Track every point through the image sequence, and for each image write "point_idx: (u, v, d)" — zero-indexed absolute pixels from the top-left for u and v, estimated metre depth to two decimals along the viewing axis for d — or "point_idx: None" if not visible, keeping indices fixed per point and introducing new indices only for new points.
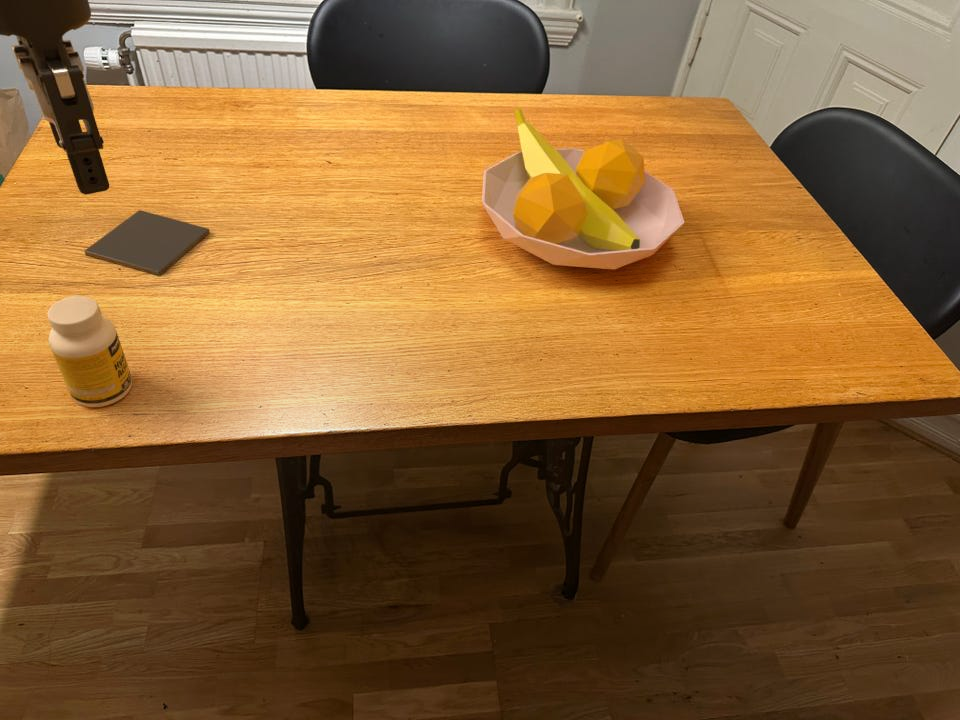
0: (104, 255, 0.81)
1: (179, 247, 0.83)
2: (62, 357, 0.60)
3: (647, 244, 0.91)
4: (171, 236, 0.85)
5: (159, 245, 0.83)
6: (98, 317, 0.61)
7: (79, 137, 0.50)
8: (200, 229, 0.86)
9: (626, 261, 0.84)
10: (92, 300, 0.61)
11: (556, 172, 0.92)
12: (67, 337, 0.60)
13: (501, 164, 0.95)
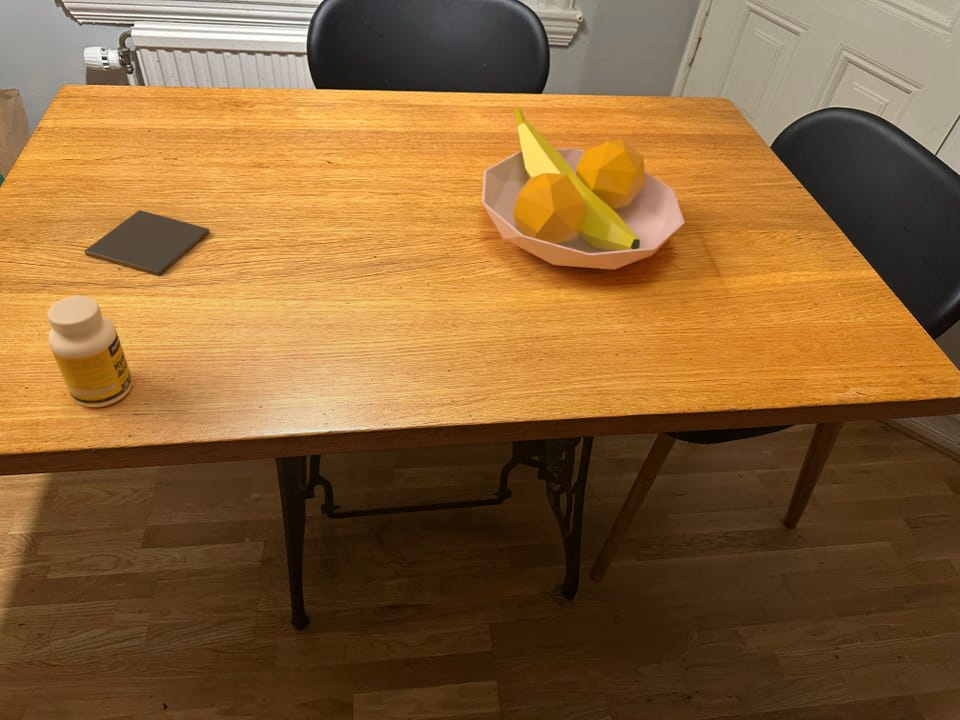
0: (104, 255, 0.81)
1: (179, 247, 0.83)
2: (62, 357, 0.60)
3: (647, 244, 0.91)
4: (171, 236, 0.85)
5: (159, 245, 0.83)
6: (98, 317, 0.61)
7: None
8: (200, 229, 0.86)
9: (626, 261, 0.84)
10: (92, 300, 0.61)
11: (556, 172, 0.92)
12: (67, 337, 0.60)
13: (501, 164, 0.95)
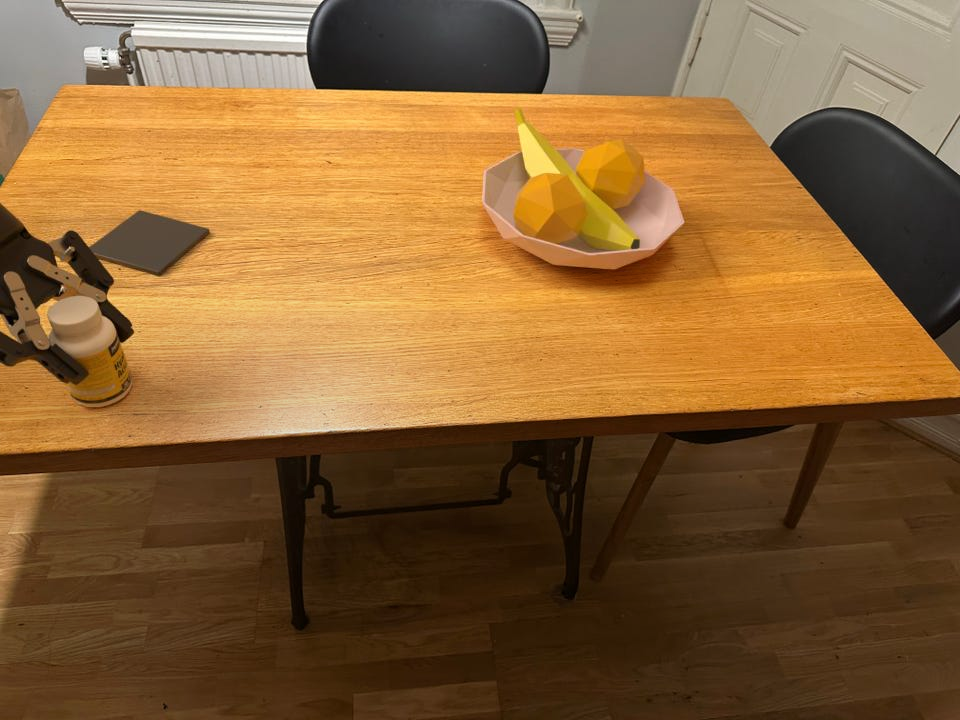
0: (104, 255, 0.81)
1: (179, 247, 0.83)
2: None
3: (647, 244, 0.91)
4: (171, 236, 0.85)
5: (159, 245, 0.83)
6: (98, 317, 0.61)
7: None
8: (200, 229, 0.86)
9: (626, 261, 0.84)
10: (92, 300, 0.61)
11: (556, 172, 0.92)
12: (67, 337, 0.60)
13: (501, 164, 0.95)
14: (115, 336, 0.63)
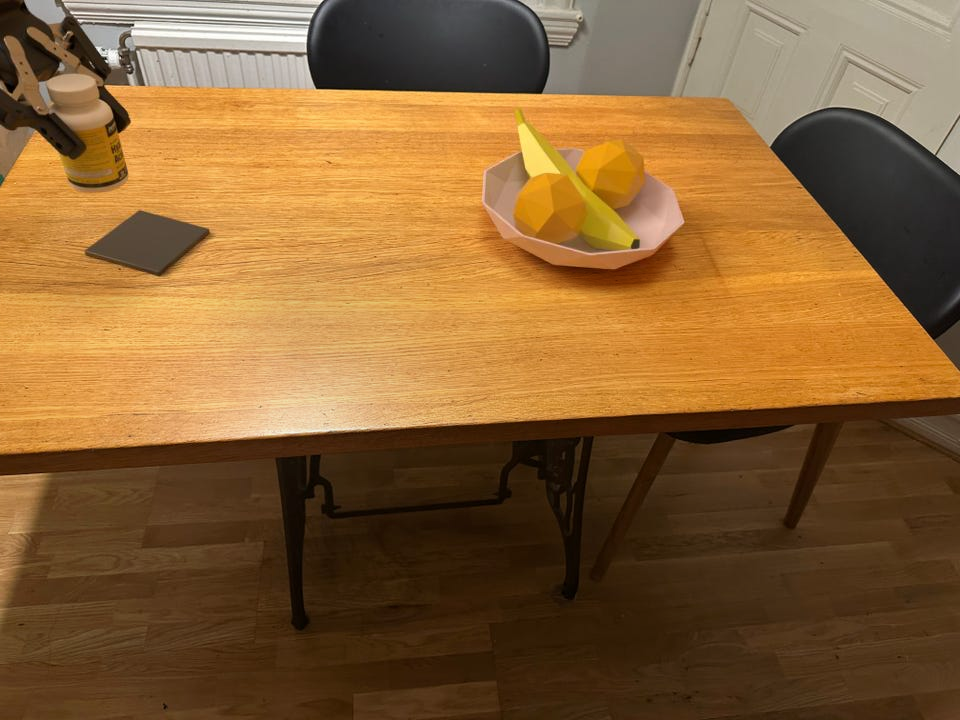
0: (104, 255, 0.81)
1: (179, 247, 0.83)
2: None
3: (647, 244, 0.91)
4: (171, 236, 0.85)
5: (159, 245, 0.83)
6: (95, 92, 0.62)
7: None
8: (200, 229, 0.86)
9: (626, 261, 0.84)
10: (89, 77, 0.63)
11: (556, 172, 0.92)
12: (65, 109, 0.62)
13: (501, 164, 0.95)
14: (112, 117, 0.65)
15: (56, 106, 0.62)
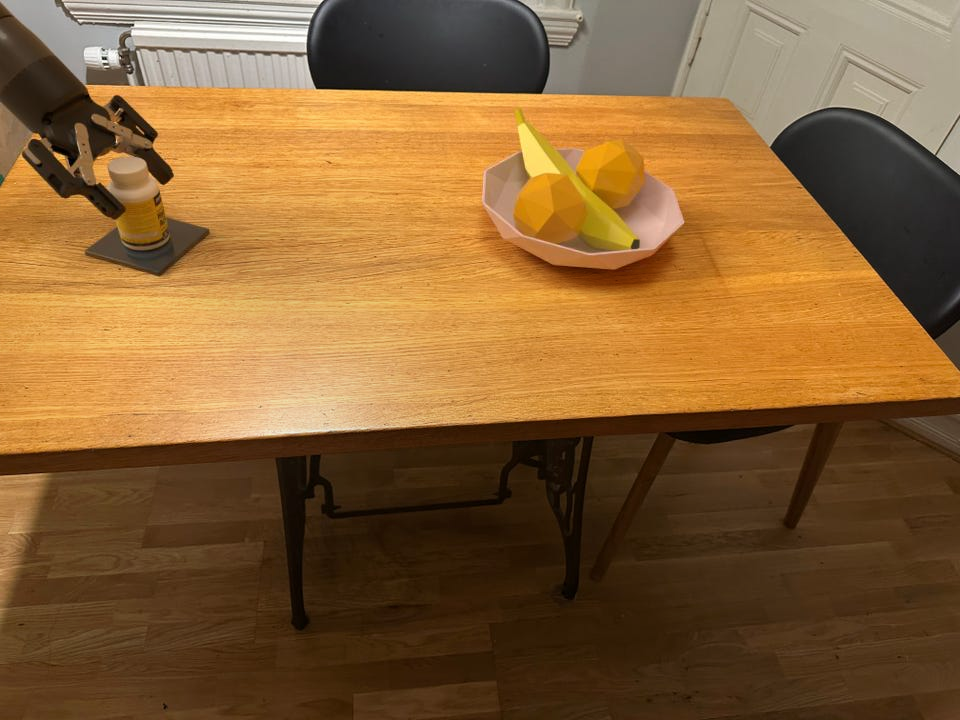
0: (104, 255, 0.81)
1: (179, 247, 0.83)
2: None
3: (647, 244, 0.91)
4: (171, 236, 0.85)
5: None
6: (146, 172, 0.78)
7: None
8: (200, 229, 0.86)
9: (626, 261, 0.84)
10: (141, 159, 0.78)
11: (556, 172, 0.92)
12: (122, 186, 0.77)
13: (501, 164, 0.95)
14: (158, 190, 0.80)
15: (115, 184, 0.77)
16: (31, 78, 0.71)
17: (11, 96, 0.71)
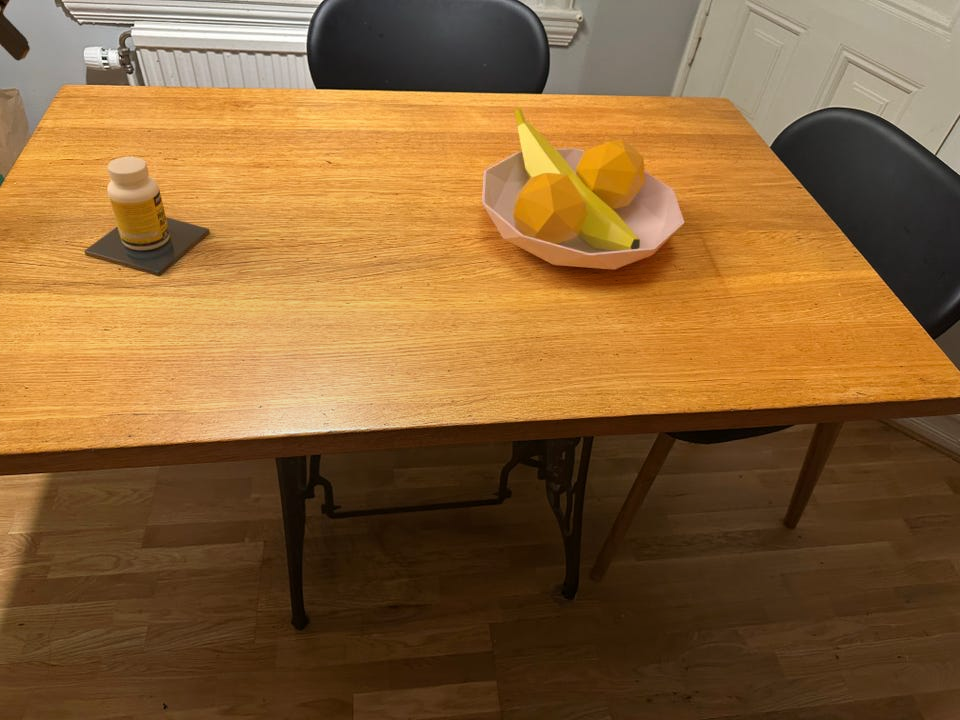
0: (104, 255, 0.81)
1: (179, 247, 0.83)
2: (118, 202, 0.78)
3: (647, 244, 0.91)
4: (171, 236, 0.85)
5: None
6: (146, 172, 0.78)
7: None
8: (200, 229, 0.86)
9: (626, 261, 0.84)
10: (141, 159, 0.78)
11: (556, 172, 0.92)
12: (122, 186, 0.77)
13: (501, 164, 0.95)
14: (158, 190, 0.80)
15: (115, 184, 0.77)
16: None
17: None
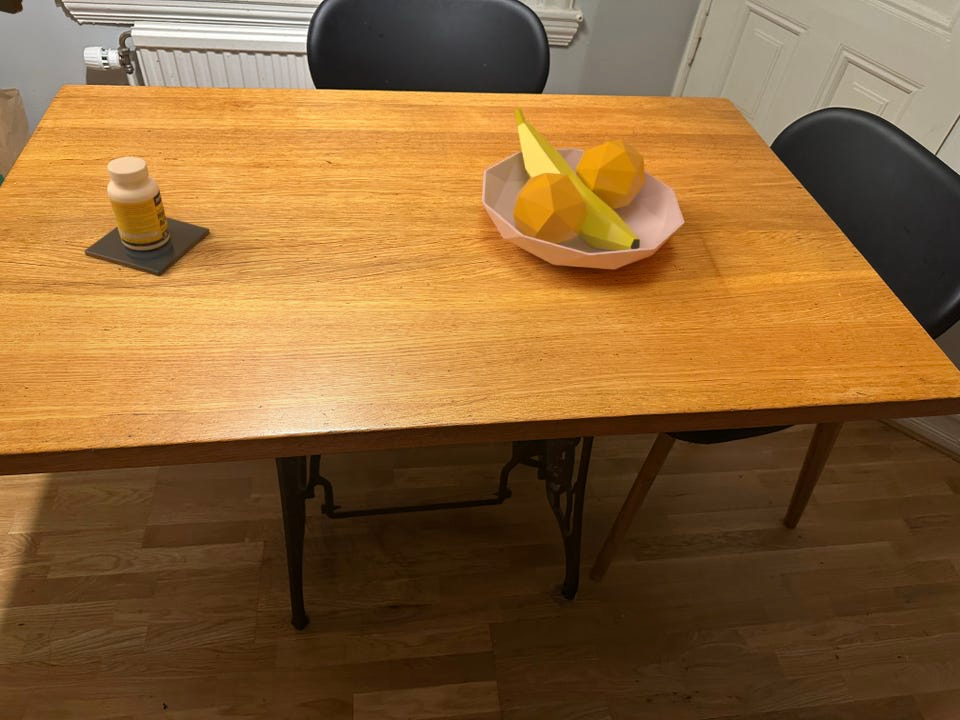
0: (104, 255, 0.81)
1: (179, 247, 0.83)
2: (118, 202, 0.78)
3: (647, 244, 0.91)
4: (171, 236, 0.85)
5: None
6: (146, 172, 0.78)
7: None
8: (200, 229, 0.86)
9: (626, 261, 0.84)
10: (141, 159, 0.78)
11: (556, 172, 0.92)
12: (122, 186, 0.77)
13: (501, 164, 0.95)
14: (158, 190, 0.80)
15: (115, 184, 0.77)
16: None
17: None
